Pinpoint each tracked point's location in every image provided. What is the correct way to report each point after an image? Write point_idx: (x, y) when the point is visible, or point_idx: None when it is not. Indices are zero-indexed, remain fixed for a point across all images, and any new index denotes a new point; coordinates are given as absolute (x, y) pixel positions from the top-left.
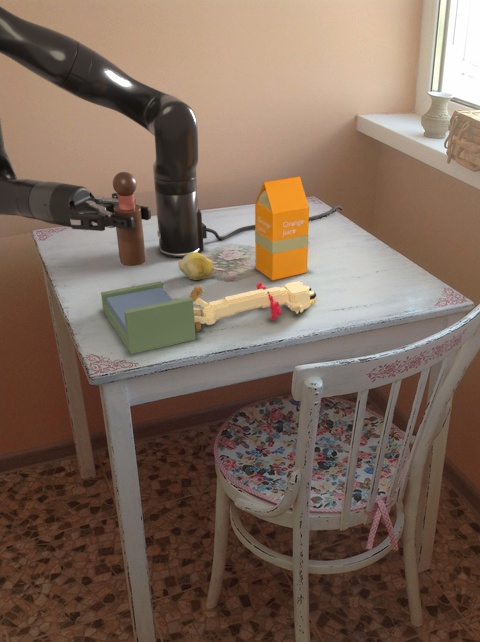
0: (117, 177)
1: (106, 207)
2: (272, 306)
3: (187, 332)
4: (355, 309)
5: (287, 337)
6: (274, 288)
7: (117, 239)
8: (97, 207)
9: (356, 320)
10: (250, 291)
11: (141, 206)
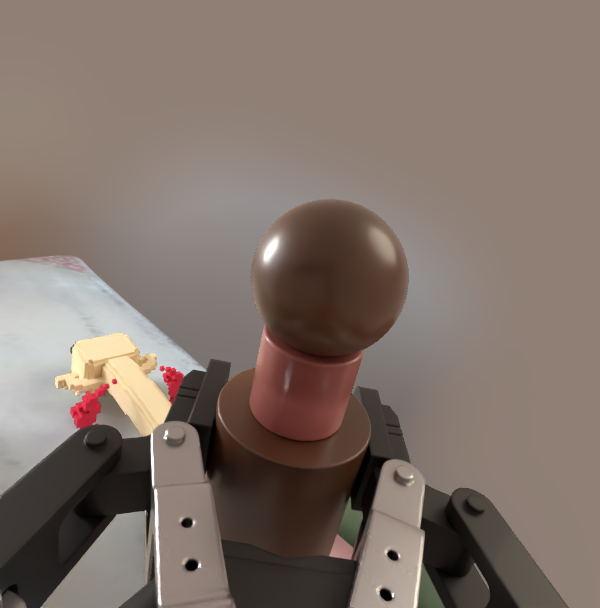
0: (398, 240)
1: (287, 560)
2: (182, 378)
3: None
4: (100, 327)
5: None
6: (124, 368)
7: None
8: (412, 552)
9: (141, 327)
10: (144, 400)
11: (209, 382)
